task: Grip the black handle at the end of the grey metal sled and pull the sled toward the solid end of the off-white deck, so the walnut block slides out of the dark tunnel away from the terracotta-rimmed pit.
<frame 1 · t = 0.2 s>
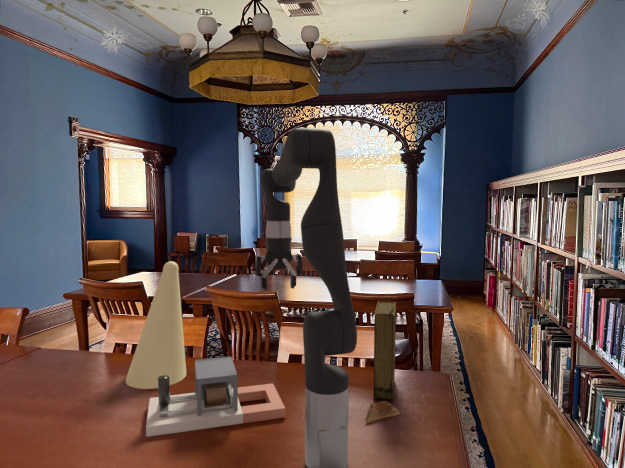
hand: (278, 288, 138), 29 cm above the table, tool pointing down, fingers open, 8 cm apart
cone light: (161, 373, 147), on the table
sled: (196, 389, 118), point 7 cm above the table, slide at 0.0 cm
tunnel: (215, 384, 121), on the deck, point 7 cm above the table
deck: (216, 411, 120), on the table
shard: (383, 417, 119), on the table
block: (216, 402, 120), point 2 cm above the table, touching deck
book: (384, 390, 134), on the table
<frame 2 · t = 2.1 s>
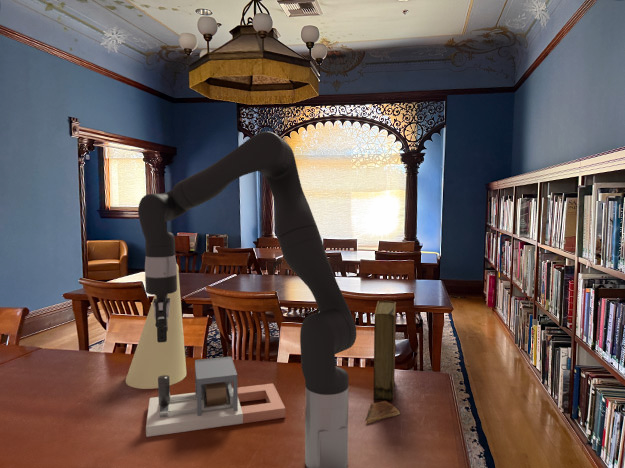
hand: (162, 336, 115), 22 cm above the table, tool pointing down, fingers open, 8 cm apart
nothing on the table moved.
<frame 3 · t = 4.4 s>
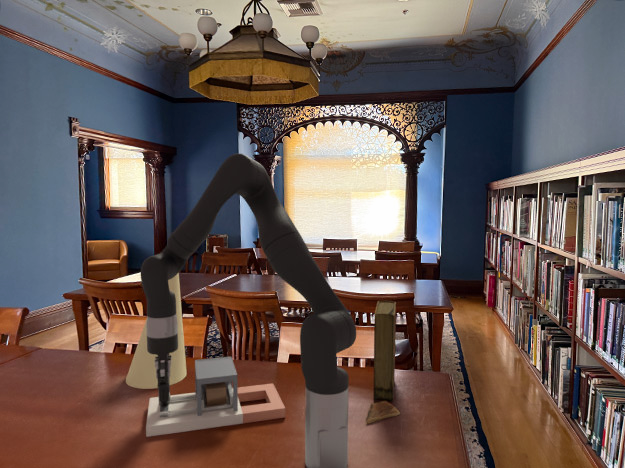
hand: (164, 397, 116), 6 cm above the table, tool pointing down, fingers closed on sled, 3 cm apart
sled: (196, 389, 118), point 7 cm above the table, slide at 0.0 cm, touching gripper
everything else where it was.
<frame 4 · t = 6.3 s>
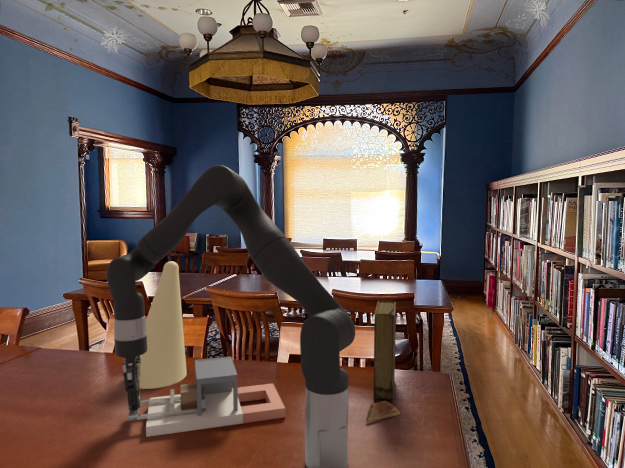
hand: (133, 401, 114), 6 cm above the table, tool pointing down, fingers closed on sled, 3 cm apart
sled: (167, 392, 116), point 7 cm above the table, slide at 7.3 cm, touching block, gripper
block: (190, 406, 118), point 2 cm above the table, touching deck, sled
everything else where it was.
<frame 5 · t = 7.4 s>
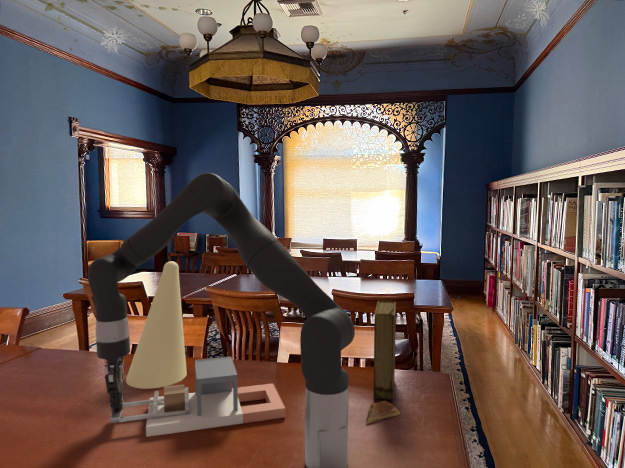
hand: (116, 403, 113), 6 cm above the table, tool pointing down, fingers closed on sled, 3 cm apart
sled: (150, 394, 115), point 7 cm above the table, slide at 11.3 cm, touching block, gripper
block: (174, 408, 117), point 3 cm above the table, touching sled
everything else where it was.
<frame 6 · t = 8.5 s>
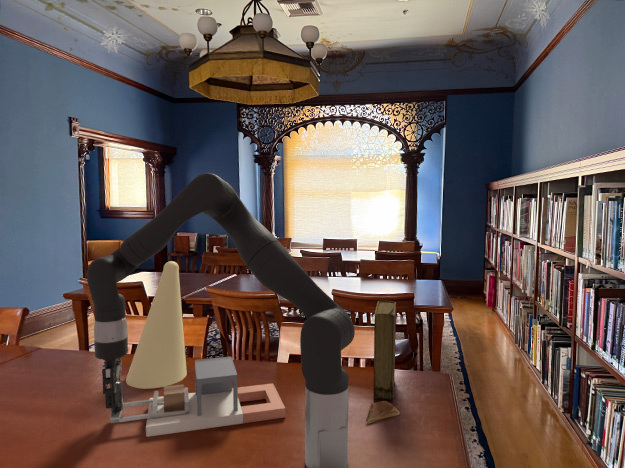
hand: (113, 399, 113), 7 cm above the table, tool pointing down, fingers open, 8 cm apart
sled: (150, 394, 115), point 7 cm above the table, slide at 11.3 cm
block: (174, 408, 117), point 2 cm above the table, touching deck
everything else where it was.
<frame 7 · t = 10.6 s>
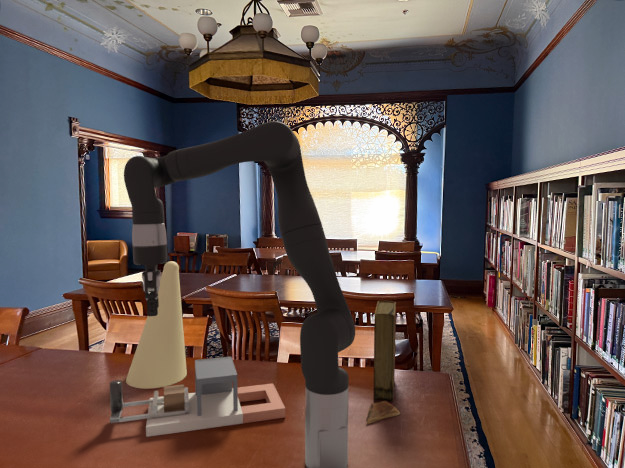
hand: (153, 311, 107), 30 cm above the table, tool pointing down, fingers open, 8 cm apart
nothing on the table moved.
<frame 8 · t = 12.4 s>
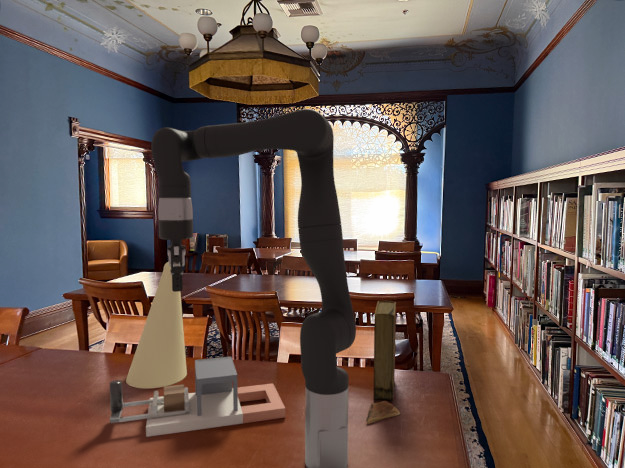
hand: (177, 287, 105), 36 cm above the table, tool pointing down, fingers open, 8 cm apart
nothing on the table moved.
at the end: sled slide at 11.3 cm; block inside the target area on the deck (1.2 cm from its centre), point 2.5 cm above the deck's base; block tilted 0° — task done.
